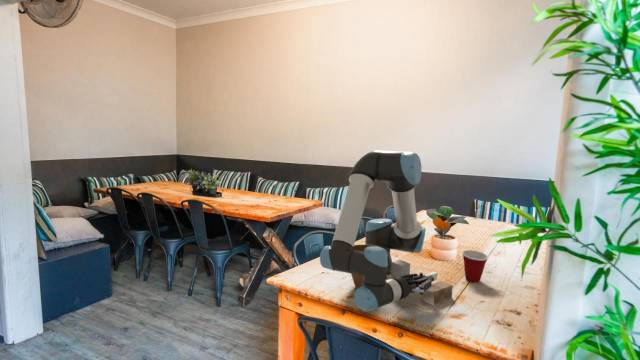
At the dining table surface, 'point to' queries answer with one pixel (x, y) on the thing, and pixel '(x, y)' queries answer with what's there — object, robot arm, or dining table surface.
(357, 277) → the plant pot
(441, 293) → the walnut block
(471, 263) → the plastic cup
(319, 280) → the dining table surface
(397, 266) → the grey block
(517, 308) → the dining table surface
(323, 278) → the dining table surface
